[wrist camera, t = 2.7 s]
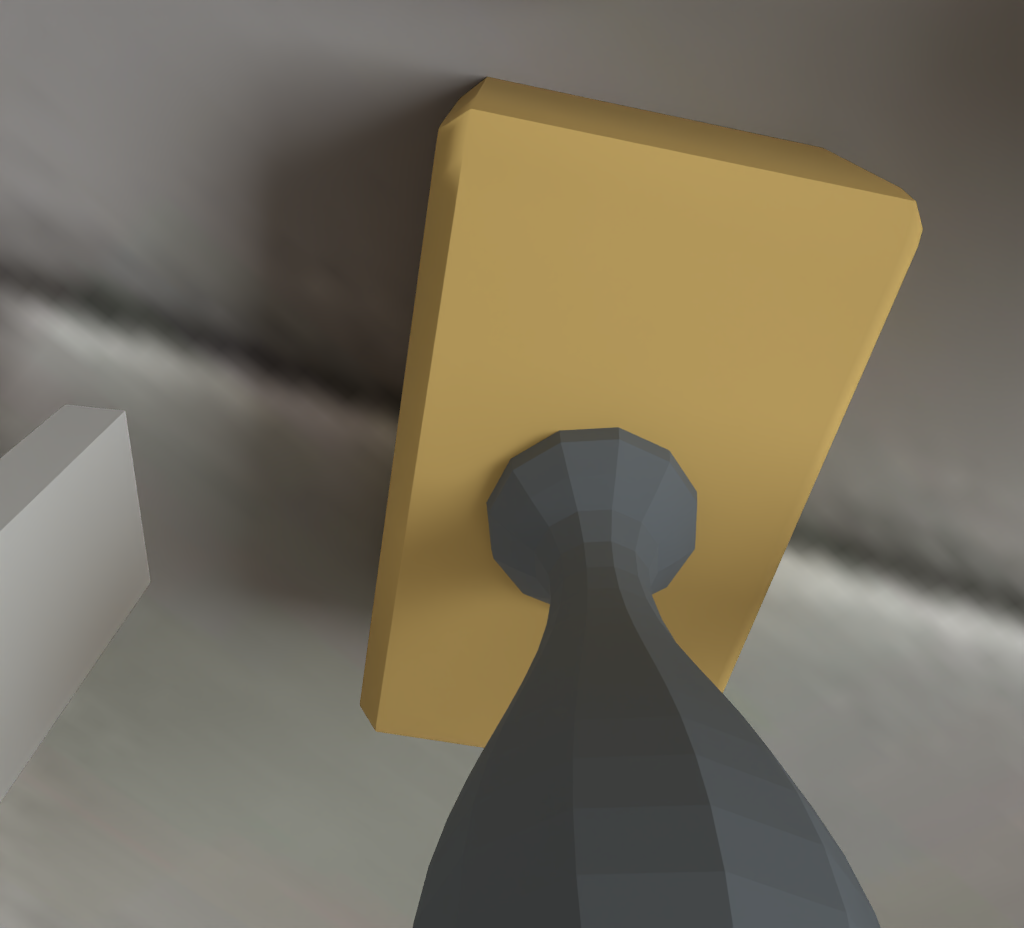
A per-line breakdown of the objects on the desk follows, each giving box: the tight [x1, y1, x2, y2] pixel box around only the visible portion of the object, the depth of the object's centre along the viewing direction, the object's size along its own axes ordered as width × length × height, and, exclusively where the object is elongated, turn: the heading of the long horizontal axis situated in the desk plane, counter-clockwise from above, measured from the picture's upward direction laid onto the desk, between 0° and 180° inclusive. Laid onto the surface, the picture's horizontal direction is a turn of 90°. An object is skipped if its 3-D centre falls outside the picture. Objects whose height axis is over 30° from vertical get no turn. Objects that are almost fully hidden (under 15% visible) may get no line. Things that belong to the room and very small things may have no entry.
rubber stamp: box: [360, 77, 923, 928], centre depth 9 cm, size 10×6×12 cm, turn 169°
